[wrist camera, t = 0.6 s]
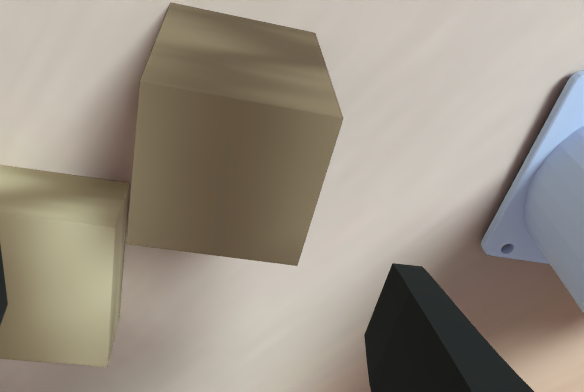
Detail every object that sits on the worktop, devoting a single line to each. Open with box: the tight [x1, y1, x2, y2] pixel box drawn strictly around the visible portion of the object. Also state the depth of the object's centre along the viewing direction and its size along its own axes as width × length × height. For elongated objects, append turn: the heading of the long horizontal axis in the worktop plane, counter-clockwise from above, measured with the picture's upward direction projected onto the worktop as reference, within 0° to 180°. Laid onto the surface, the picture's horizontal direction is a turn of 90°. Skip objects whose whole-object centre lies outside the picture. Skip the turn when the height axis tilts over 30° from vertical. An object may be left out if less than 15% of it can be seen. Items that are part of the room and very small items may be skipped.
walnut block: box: [126, 3, 343, 266], centre depth 16 cm, size 4×4×6 cm
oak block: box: [0, 165, 129, 367], centre depth 20 cm, size 7×7×3 cm
